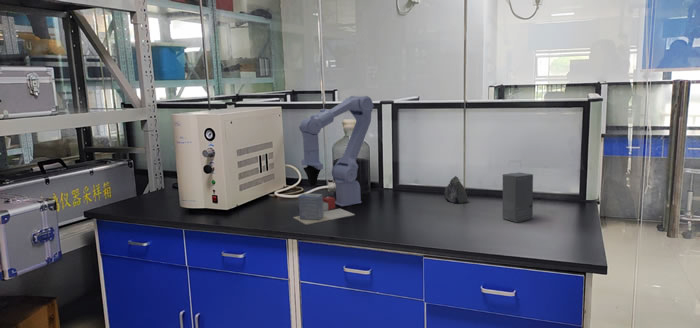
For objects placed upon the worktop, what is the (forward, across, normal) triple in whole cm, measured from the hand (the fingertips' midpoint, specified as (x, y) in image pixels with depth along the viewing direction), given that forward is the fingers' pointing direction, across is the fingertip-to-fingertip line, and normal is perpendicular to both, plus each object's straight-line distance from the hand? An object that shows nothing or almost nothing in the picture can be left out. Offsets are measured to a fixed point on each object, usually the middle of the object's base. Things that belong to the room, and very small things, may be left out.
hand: (313, 185), depth 189 cm
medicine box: (+10, +10, -6) cm, 15 cm away
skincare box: (+10, +54, +51) cm, 75 cm away
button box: (+10, 0, 0) cm, 10 cm away
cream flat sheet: (+10, +10, -1) cm, 14 cm away
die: (+10, 0, +6) cm, 12 cm away
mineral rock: (+10, +21, +53) cm, 58 cm away
